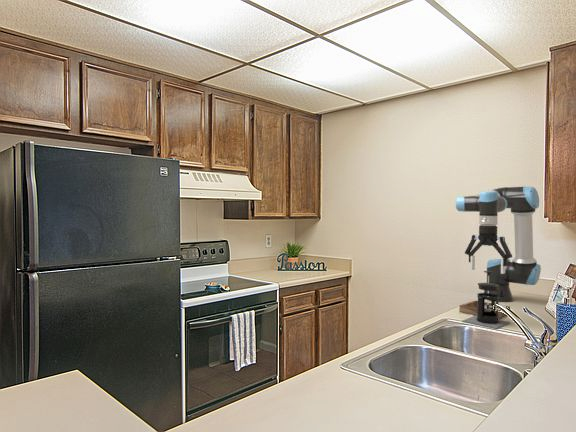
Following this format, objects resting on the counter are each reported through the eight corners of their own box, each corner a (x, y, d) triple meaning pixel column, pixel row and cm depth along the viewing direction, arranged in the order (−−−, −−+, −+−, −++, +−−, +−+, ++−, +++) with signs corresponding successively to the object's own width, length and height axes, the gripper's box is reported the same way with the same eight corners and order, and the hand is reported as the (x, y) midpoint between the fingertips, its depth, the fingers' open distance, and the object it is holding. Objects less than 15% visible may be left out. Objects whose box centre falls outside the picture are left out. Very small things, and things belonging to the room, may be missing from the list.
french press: (484, 317, 196) (485, 268, 195) (504, 321, 188) (505, 271, 187) (470, 320, 189) (471, 270, 189) (489, 325, 181) (490, 273, 181)
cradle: (475, 306, 218) (475, 300, 218) (510, 313, 205) (510, 306, 205) (459, 312, 207) (459, 305, 207) (495, 319, 194) (495, 312, 194)
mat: (477, 316, 199) (477, 315, 199) (510, 323, 188) (510, 321, 188) (462, 321, 189) (462, 320, 189) (496, 329, 178) (496, 327, 178)
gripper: (457, 224, 195) (457, 269, 195) (514, 226, 176) (513, 276, 176) (465, 223, 199) (464, 267, 200) (520, 226, 181) (519, 274, 181)
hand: (487, 271), depth 188 cm, fingers open, 13 cm apart
